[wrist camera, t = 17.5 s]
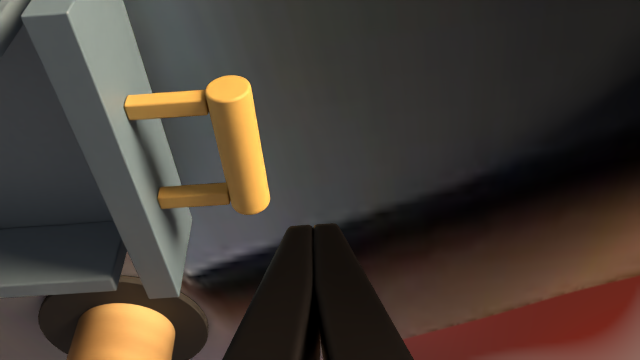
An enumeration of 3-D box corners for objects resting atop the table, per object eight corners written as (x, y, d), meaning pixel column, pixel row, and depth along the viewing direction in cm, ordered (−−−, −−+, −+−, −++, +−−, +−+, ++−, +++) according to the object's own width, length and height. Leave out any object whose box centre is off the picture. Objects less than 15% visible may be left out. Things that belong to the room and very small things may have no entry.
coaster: (177, 264, 29) (176, 270, 29) (227, 355, 35) (226, 361, 35) (7, 287, 30) (4, 293, 29) (85, 372, 36) (83, 378, 36)
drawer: (237, -66, 17) (226, 0, 14) (281, 213, 25) (280, 291, 22) (-303, -24, 17) (-425, 48, 14) (-85, 237, 26) (-134, 317, 23)
